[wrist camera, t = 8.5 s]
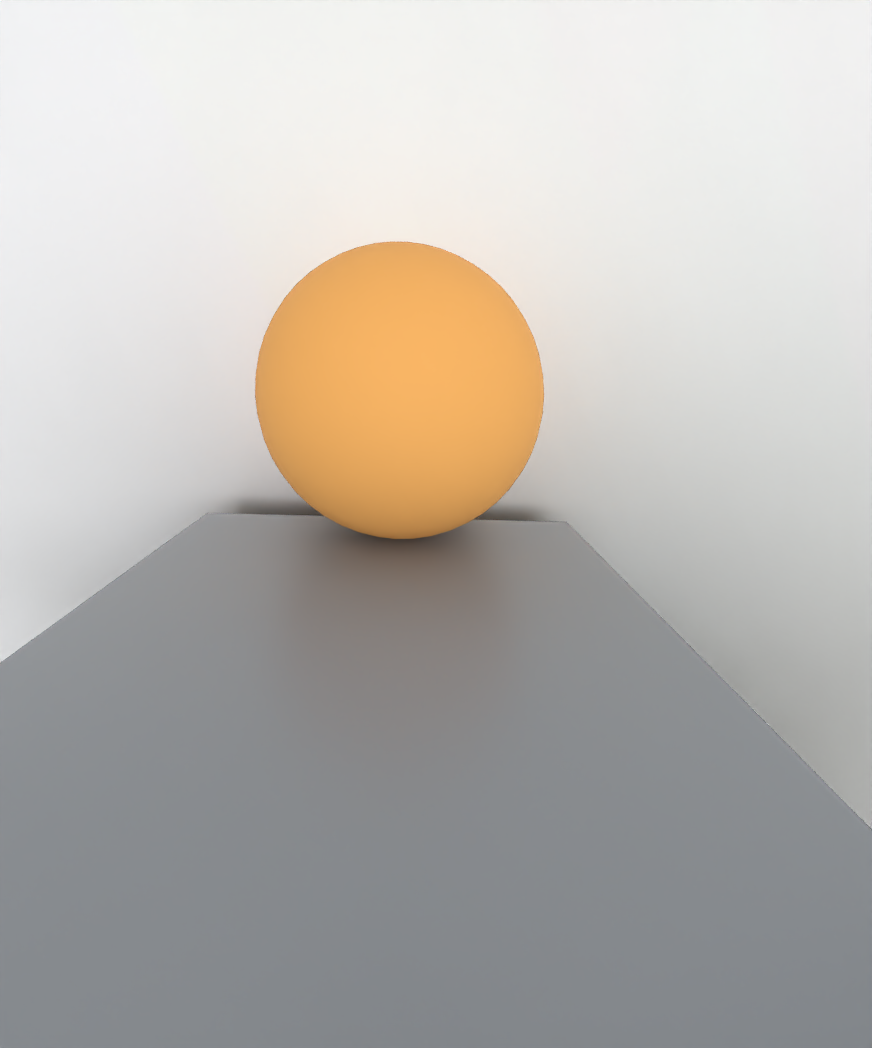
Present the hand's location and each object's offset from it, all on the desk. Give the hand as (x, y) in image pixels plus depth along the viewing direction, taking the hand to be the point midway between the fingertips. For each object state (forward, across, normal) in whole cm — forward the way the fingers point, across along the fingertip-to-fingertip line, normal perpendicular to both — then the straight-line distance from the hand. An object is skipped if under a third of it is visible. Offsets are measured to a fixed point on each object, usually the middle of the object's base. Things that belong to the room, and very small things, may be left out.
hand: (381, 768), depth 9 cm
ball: (+2, 0, -6) cm, 7 cm away
